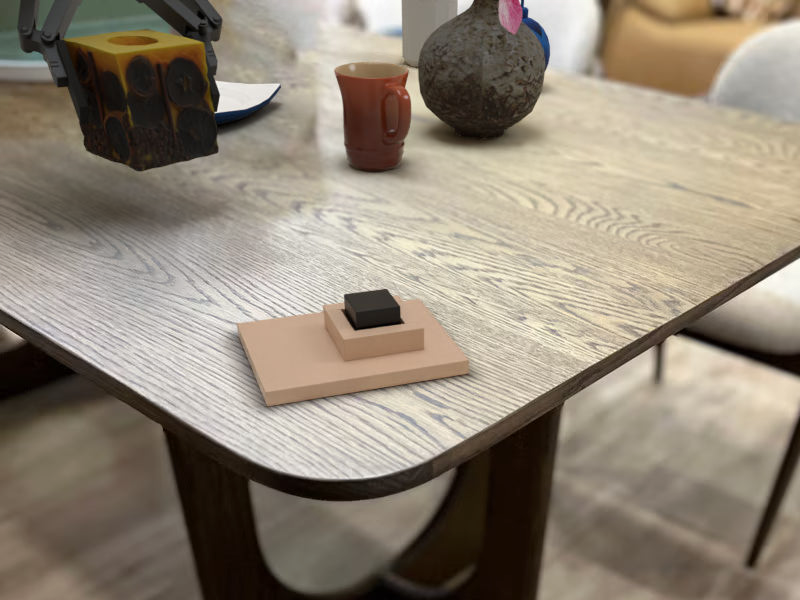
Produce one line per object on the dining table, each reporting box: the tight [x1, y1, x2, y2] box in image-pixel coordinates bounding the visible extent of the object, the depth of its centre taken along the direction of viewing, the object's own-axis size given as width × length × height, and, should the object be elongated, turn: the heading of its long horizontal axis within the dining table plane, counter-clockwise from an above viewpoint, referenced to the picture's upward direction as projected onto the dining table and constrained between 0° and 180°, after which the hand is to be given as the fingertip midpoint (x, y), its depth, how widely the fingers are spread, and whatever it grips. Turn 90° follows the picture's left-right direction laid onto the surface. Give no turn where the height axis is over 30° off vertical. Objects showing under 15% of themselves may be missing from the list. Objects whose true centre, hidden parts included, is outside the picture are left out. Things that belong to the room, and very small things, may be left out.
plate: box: [215, 80, 282, 126], centre depth 122 cm, size 20×20×3 cm
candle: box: [62, 28, 220, 172], centre depth 84 cm, size 10×10×10 cm
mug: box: [333, 61, 412, 172], centre depth 101 cm, size 12×9×10 cm
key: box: [343, 288, 401, 331], centre depth 66 cm, size 4×4×2 cm
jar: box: [401, 0, 459, 68], centre depth 144 cm, size 10×10×18 cm
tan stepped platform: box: [236, 294, 470, 407], centre depth 67 cm, size 16×12×3 cm
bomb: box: [520, 0, 551, 72], centre depth 132 cm, size 10×11×15 cm
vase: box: [417, 0, 546, 140], centre depth 107 cm, size 17×18×30 cm
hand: (151, 109), depth 83 cm, fingers closed on candle, 12 cm apart
